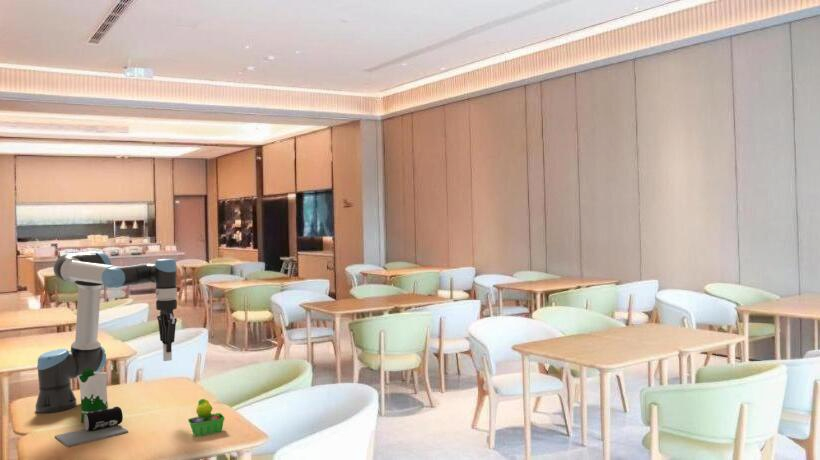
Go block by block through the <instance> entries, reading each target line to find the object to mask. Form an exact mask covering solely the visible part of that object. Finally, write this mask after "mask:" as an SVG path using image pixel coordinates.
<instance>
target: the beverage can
mask: <svg viewBox="0 0 820 460" xmlns="http://www.w3.org/2000/svg"><path fill="white" fill-rule="evenodd" d="M123 416H124V415H123V411H122V408H121V407H119V406H114V407H113V406H112V407H108V408H107V409H103V410H98V411H93V412H89V413H88V414H85V415H84V423H83V424H84V429H86V430H91V431H92V430H97V429H101V428H105V427H110V426H114V425H119V426H120V425H121V423H123V419H124V417H123Z"/></svg>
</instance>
